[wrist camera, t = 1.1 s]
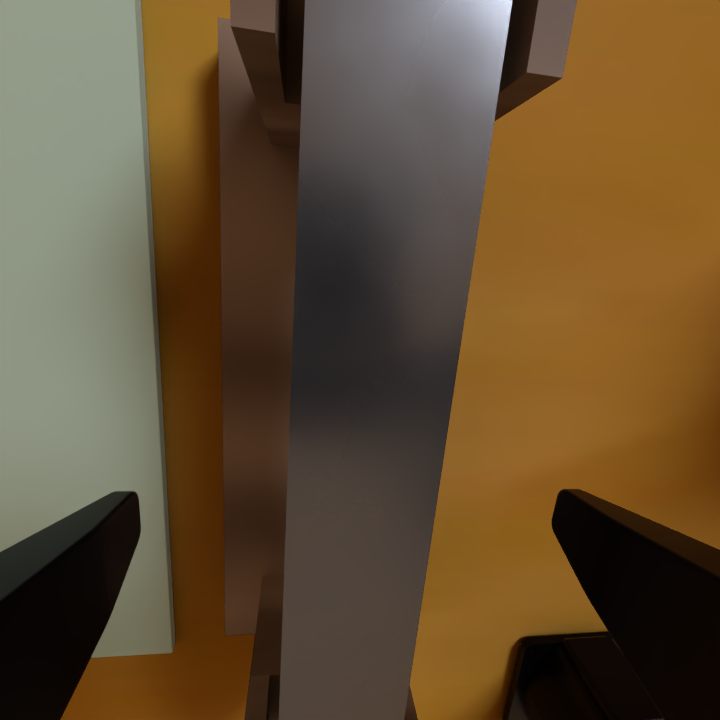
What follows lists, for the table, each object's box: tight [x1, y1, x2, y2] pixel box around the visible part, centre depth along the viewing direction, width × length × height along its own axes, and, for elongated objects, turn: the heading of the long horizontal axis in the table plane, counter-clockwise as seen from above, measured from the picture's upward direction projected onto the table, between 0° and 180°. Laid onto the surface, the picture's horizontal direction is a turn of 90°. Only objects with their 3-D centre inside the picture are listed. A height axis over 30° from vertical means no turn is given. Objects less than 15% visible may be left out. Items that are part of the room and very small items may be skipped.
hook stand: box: [218, 0, 577, 720], centre depth 12 cm, size 22×8×8 cm, turn 175°
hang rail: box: [279, 0, 512, 720], centre depth 10 cm, size 24×3×3 cm, turn 175°
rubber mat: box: [0, 0, 175, 658], centre depth 14 cm, size 26×9×1 cm, turn 175°
